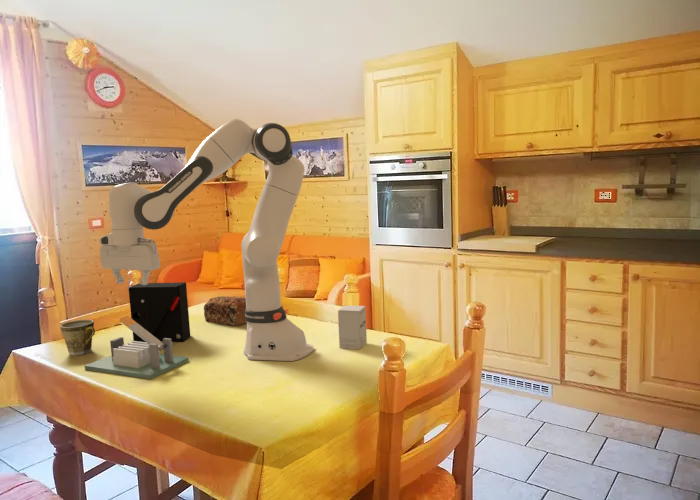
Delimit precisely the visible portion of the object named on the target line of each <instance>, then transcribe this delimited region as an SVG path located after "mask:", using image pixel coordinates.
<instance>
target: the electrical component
mask: <svg viewBox="0 0 700 500" xmlns="http://www.w3.org/2000/svg"><path fill="white" fill-rule="evenodd" d="M187 289H188V287H187V282H185V281H184V282H183V281H182V282H178V281H177V282H148V284H147V285H140V282H139V283H136V284H134V285H131V286H129V287H128V296H129V297H128V298H129V307H130V318H132V319H133V320H134V321H135V322H137V323H138V324H139V325H140V326H142V327H143V328H144V329H146V330H147V331H148V332H149V333H151V334H152V335H153V336H154V337H156V338H157V339H158V340H160V341H161V342H162V343H163V339H164V338H170V339H171V340H172V343H185V342H186V341H187V340H188V339H190V338H191V329H190V317H189V316H190V314H189V313H190V312H189V302H188V290H187ZM132 337H133V338H132V341H138V342H145V341H144V340H143V339H142V338H140V337H139V336H138V335H137V334H135V333H134V332H133V331H132Z"/></svg>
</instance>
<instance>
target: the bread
mask: <svg viewBox="0 0 700 500" xmlns="http://www.w3.org/2000/svg"><path fill="white" fill-rule="evenodd" d="M245 309H246V298H245V297H242V296H228V295H227V296H224V295H223V296H216V297H211V298H210V299H209V300H208V301H206V302H205V304H204V305H203V312H204V313H203V315H204V320H205V321H206V322H208V323H214V324H220V325H226V326H233V327H235V326H242V325H245V324H247V323H246V320H245Z"/></svg>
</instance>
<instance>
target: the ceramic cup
mask: <svg viewBox="0 0 700 500" xmlns="http://www.w3.org/2000/svg"><path fill="white" fill-rule="evenodd" d="M94 324H95V321H94V320H93V319H76V320H72V321H71V320H70V321H67V322H64V323H62V324H61V325H60V331H61V334H62V337H63V340H64V342H65V345H66V348H67V352H68V354H69V355H70V356H81V355H85V354H89V353H91V352H92V347H93V346H92V344H93V337H94V336H95V335H96V330H95V328H94V327H95V325H94Z"/></svg>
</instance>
